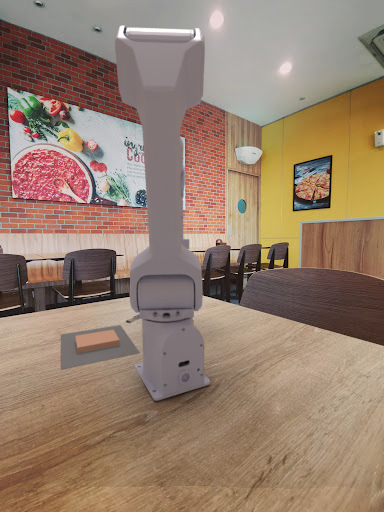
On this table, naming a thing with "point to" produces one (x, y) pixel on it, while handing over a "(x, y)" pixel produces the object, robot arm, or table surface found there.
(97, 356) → the mat
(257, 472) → the table surface
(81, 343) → the tile
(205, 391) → the table surface
